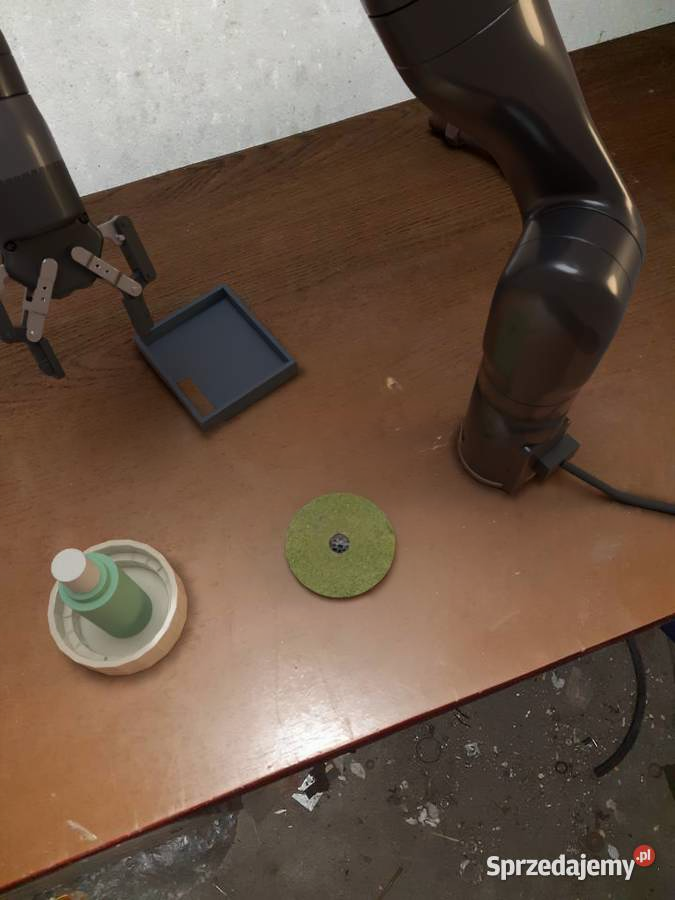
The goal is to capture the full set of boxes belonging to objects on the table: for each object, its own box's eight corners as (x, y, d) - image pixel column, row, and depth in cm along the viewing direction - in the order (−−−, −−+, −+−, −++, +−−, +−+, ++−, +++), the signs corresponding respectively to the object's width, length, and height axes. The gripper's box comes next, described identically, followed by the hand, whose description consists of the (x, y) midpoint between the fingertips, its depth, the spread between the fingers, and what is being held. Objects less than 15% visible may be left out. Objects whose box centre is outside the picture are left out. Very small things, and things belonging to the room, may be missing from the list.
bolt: (434, 135, 103) (521, 177, 98) (417, 136, 99) (506, 180, 94) (449, 94, 99) (539, 134, 94) (432, 93, 96) (525, 136, 91)
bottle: (162, 616, 69) (112, 569, 55) (116, 649, 68) (54, 610, 54) (135, 576, 71) (81, 522, 57) (91, 607, 70) (24, 559, 56)
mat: (392, 498, 75) (393, 491, 73) (396, 601, 70) (397, 596, 68) (288, 499, 75) (286, 492, 73) (285, 602, 70) (283, 597, 68)
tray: (298, 373, 82) (296, 361, 80) (205, 434, 79) (201, 423, 77) (227, 295, 88) (223, 282, 86) (138, 349, 85) (132, 337, 82)
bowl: (211, 623, 69) (201, 611, 65) (105, 703, 66) (86, 696, 62) (149, 533, 74) (135, 516, 69) (46, 603, 71) (25, 590, 66)
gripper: (-70, 199, 48) (41, 400, 56) (112, 138, 54) (189, 327, 62) (-85, 201, 54) (18, 384, 62) (82, 146, 60) (156, 318, 68)
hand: (104, 355), depth 62 cm, fingers open, 8 cm apart
